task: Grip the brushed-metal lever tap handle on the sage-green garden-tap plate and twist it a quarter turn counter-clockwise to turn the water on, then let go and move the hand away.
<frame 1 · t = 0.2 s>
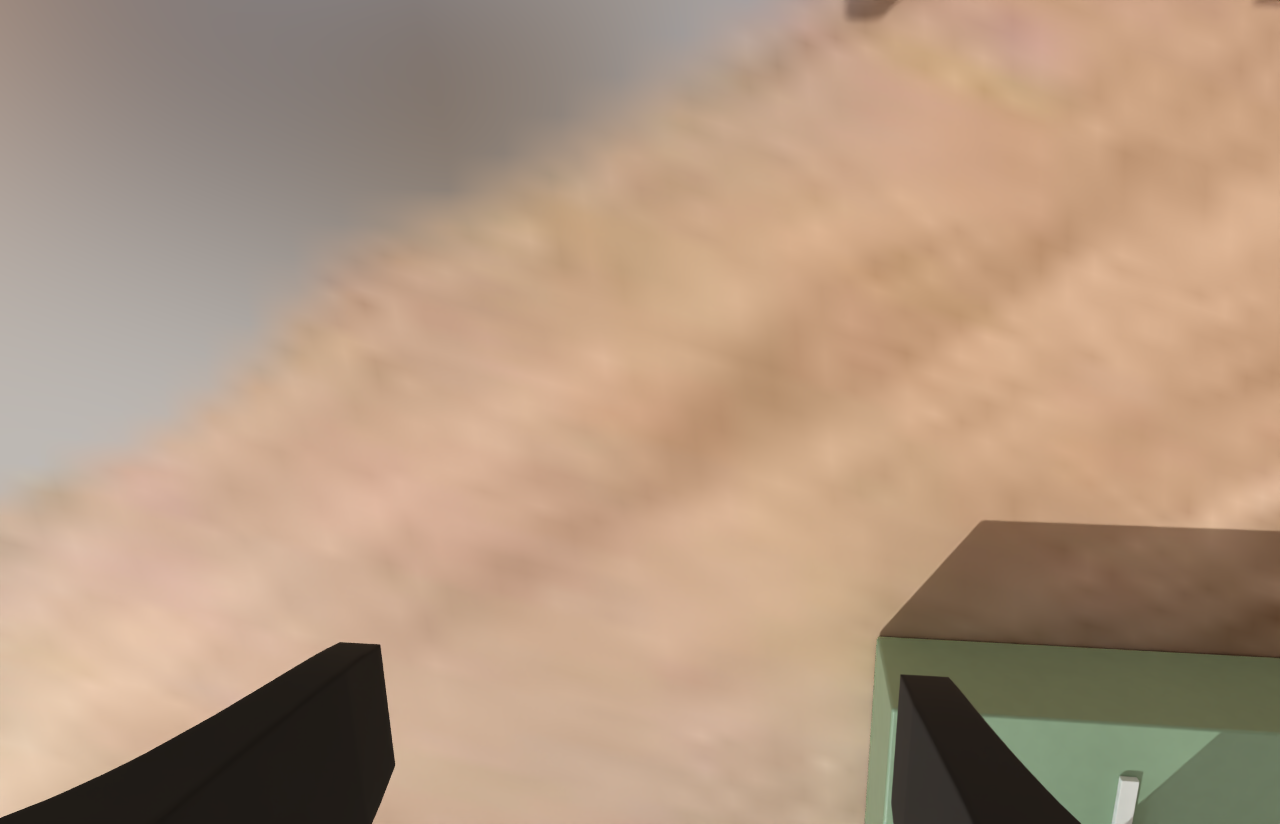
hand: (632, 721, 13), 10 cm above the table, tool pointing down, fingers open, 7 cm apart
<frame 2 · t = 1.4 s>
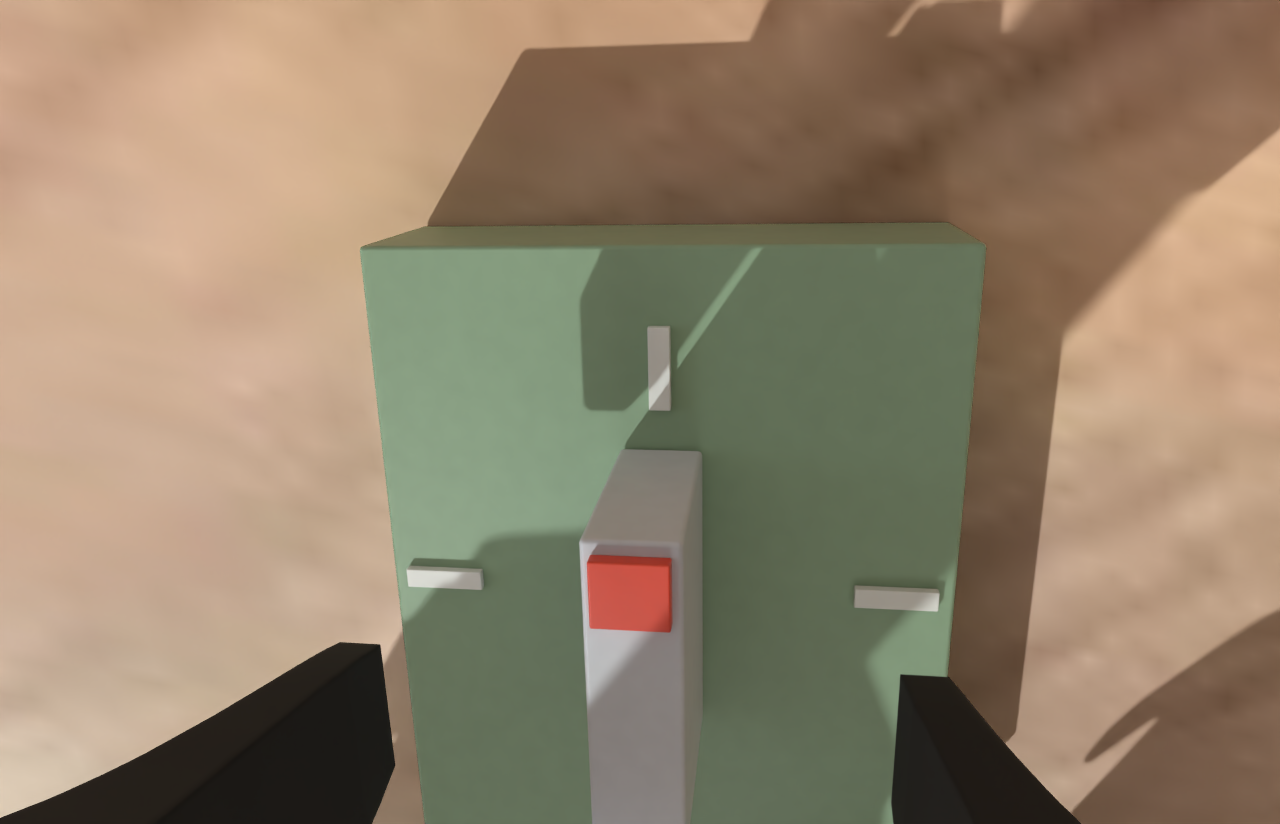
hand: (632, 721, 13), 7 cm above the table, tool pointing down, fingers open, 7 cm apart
tap plate: (679, 559, 19), on the table
tap handle: (649, 645, 14), point 5 cm above the table, hinge at 0.0°
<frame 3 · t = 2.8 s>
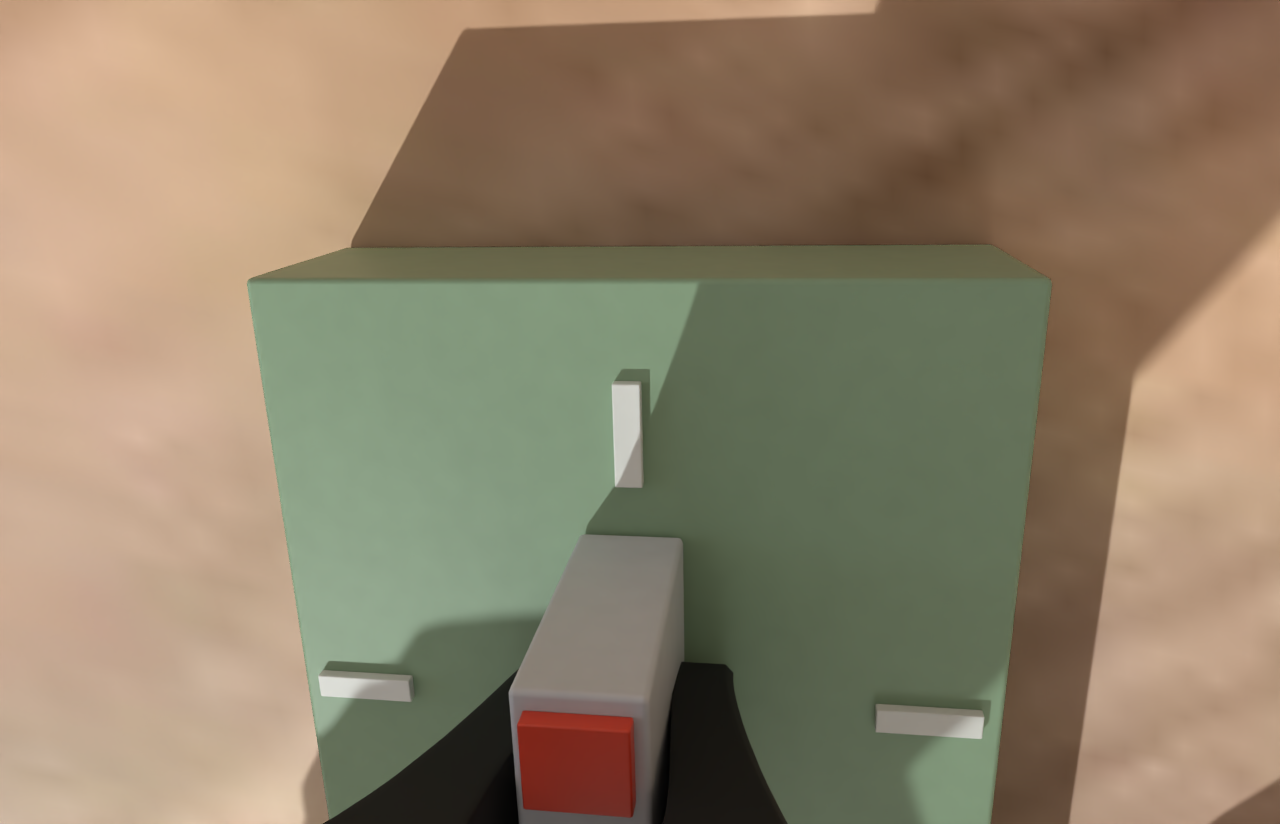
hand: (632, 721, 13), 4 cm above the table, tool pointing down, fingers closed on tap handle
tap plate: (661, 646, 16), on the table
tap handle: (613, 796, 11), point 5 cm above the table, hinge at 0.1°, touching gripper
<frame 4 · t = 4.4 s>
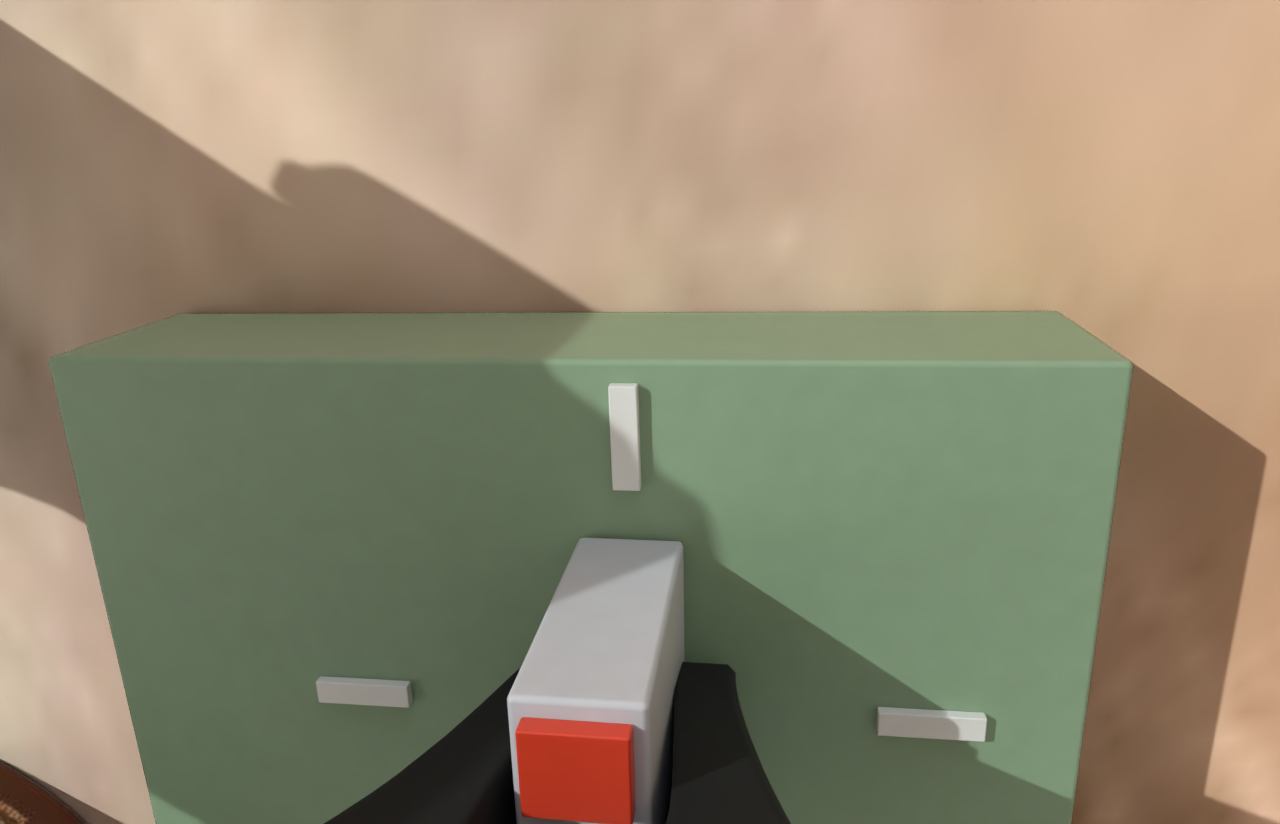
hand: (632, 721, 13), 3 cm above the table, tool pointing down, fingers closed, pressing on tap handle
tap plate: (603, 596, 16), on the table
tap handle: (613, 802, 11), point 5 cm above the table, hinge at 89.5°, touching gripper
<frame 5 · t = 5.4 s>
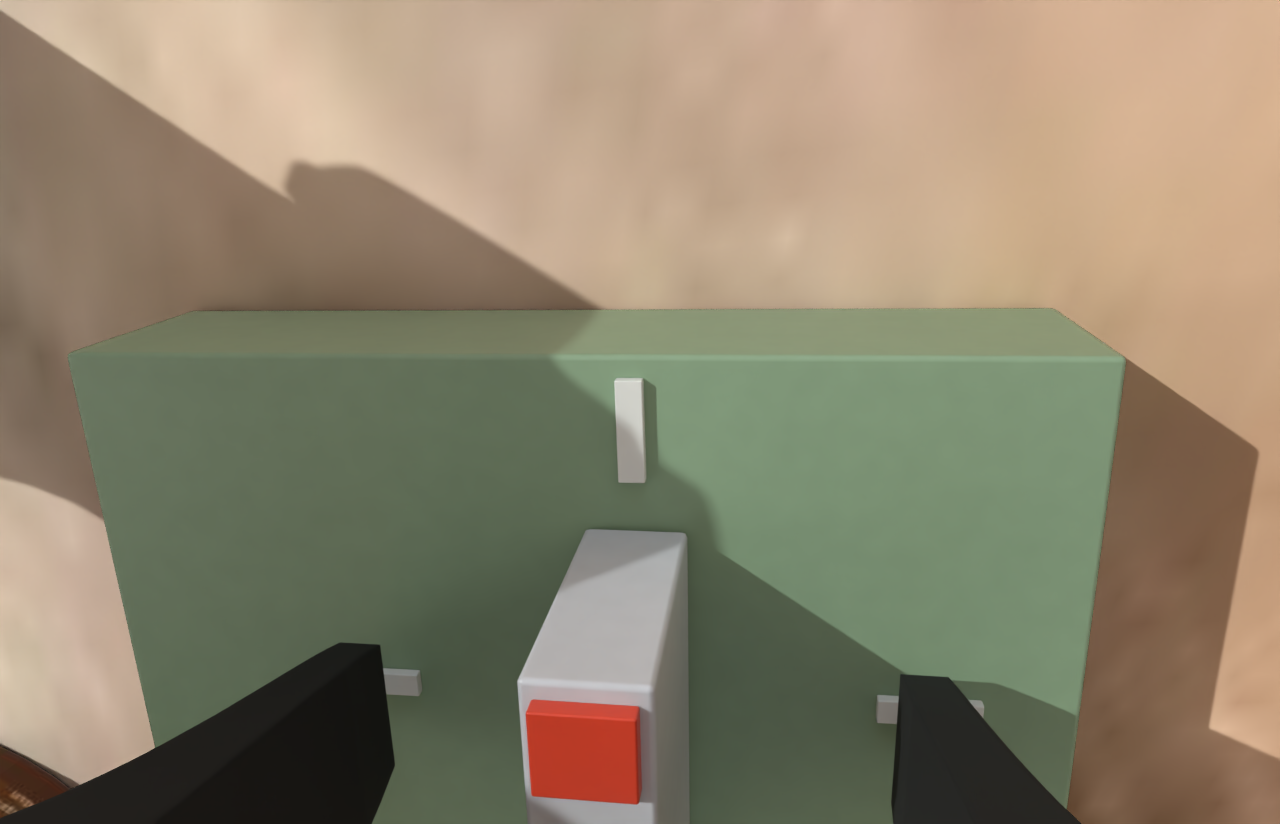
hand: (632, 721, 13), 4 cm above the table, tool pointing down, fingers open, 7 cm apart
tap plate: (608, 588, 16), on the table
tap handle: (619, 786, 11), point 5 cm above the table, hinge at 89.5°
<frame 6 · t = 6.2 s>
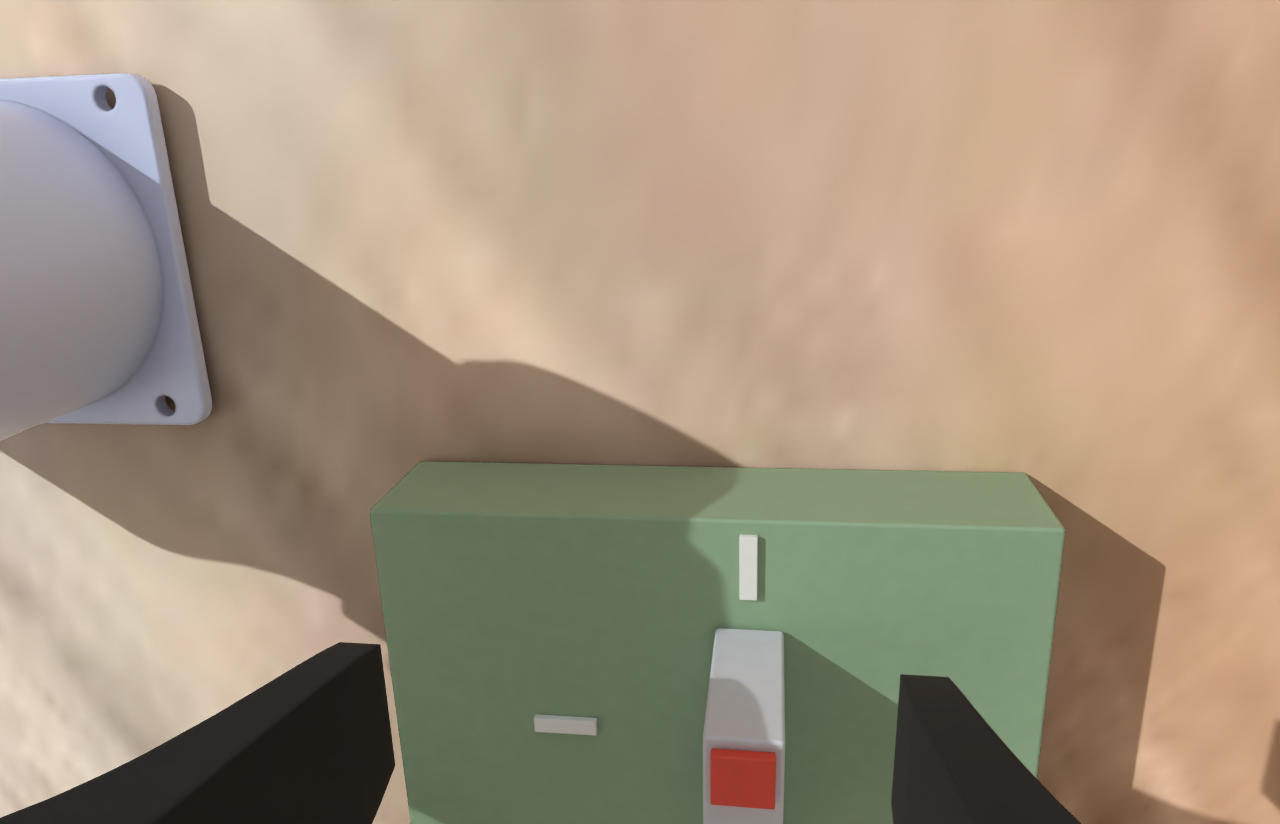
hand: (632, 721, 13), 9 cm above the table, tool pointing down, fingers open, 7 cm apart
tap plate: (711, 654, 23), on the table
tap handle: (745, 797, 18), point 5 cm above the table, hinge at 89.5°
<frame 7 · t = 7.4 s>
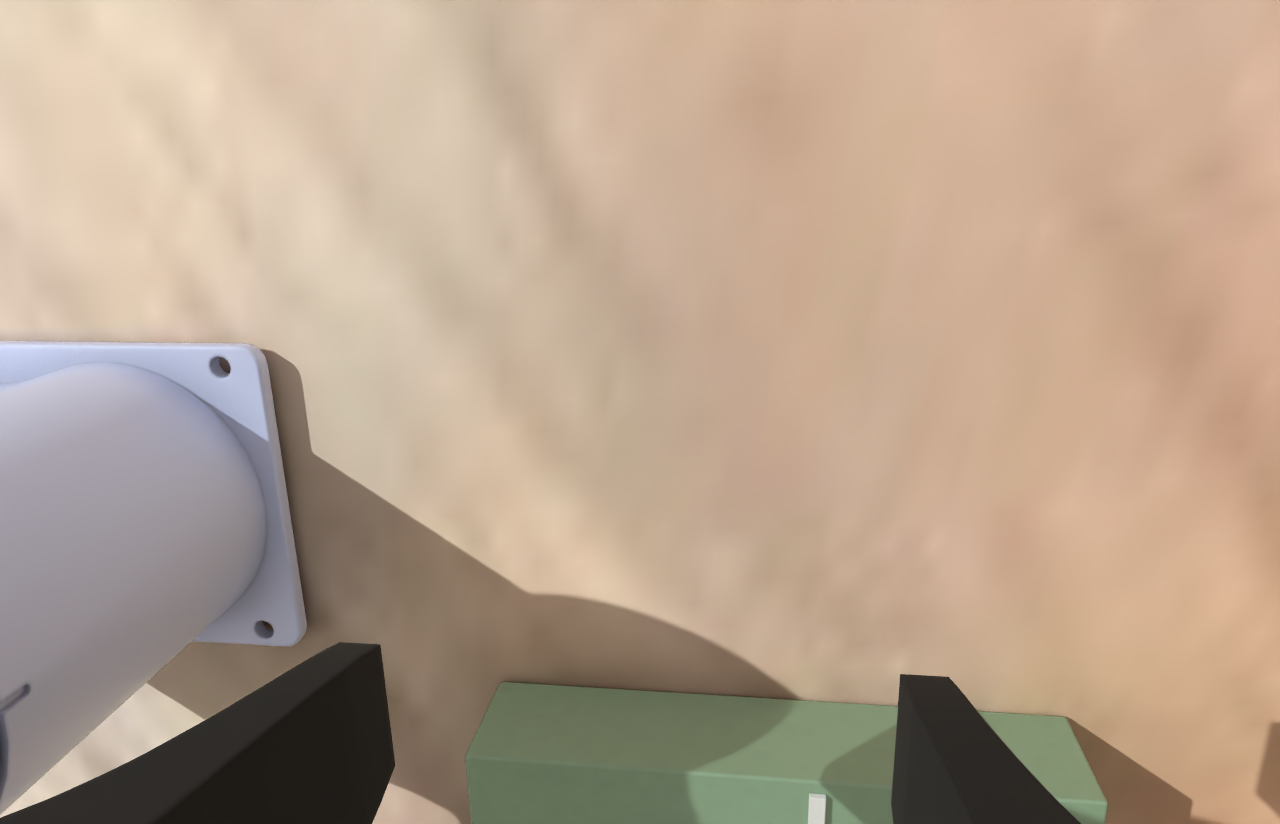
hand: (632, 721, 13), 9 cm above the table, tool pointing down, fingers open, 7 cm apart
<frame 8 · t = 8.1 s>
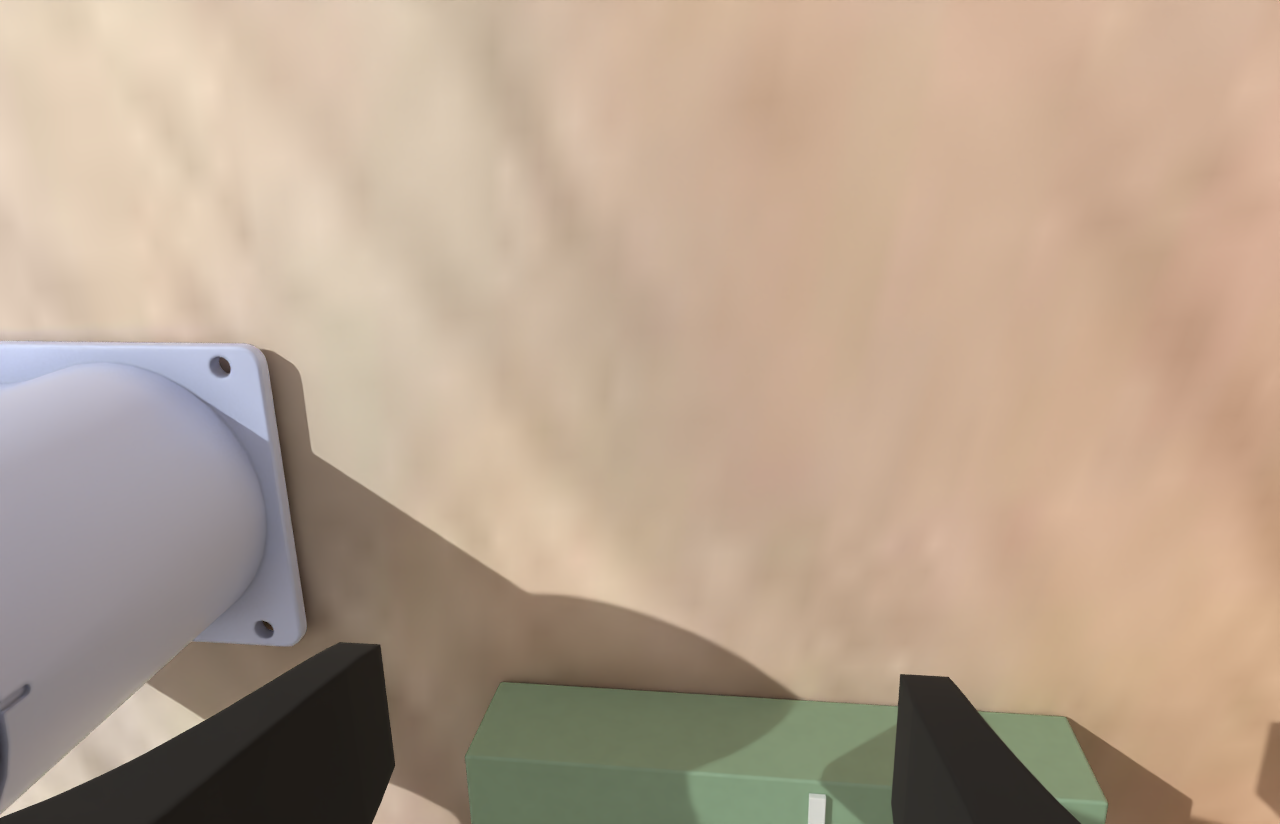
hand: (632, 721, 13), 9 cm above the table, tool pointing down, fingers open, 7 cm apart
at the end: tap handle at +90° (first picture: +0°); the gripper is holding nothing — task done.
